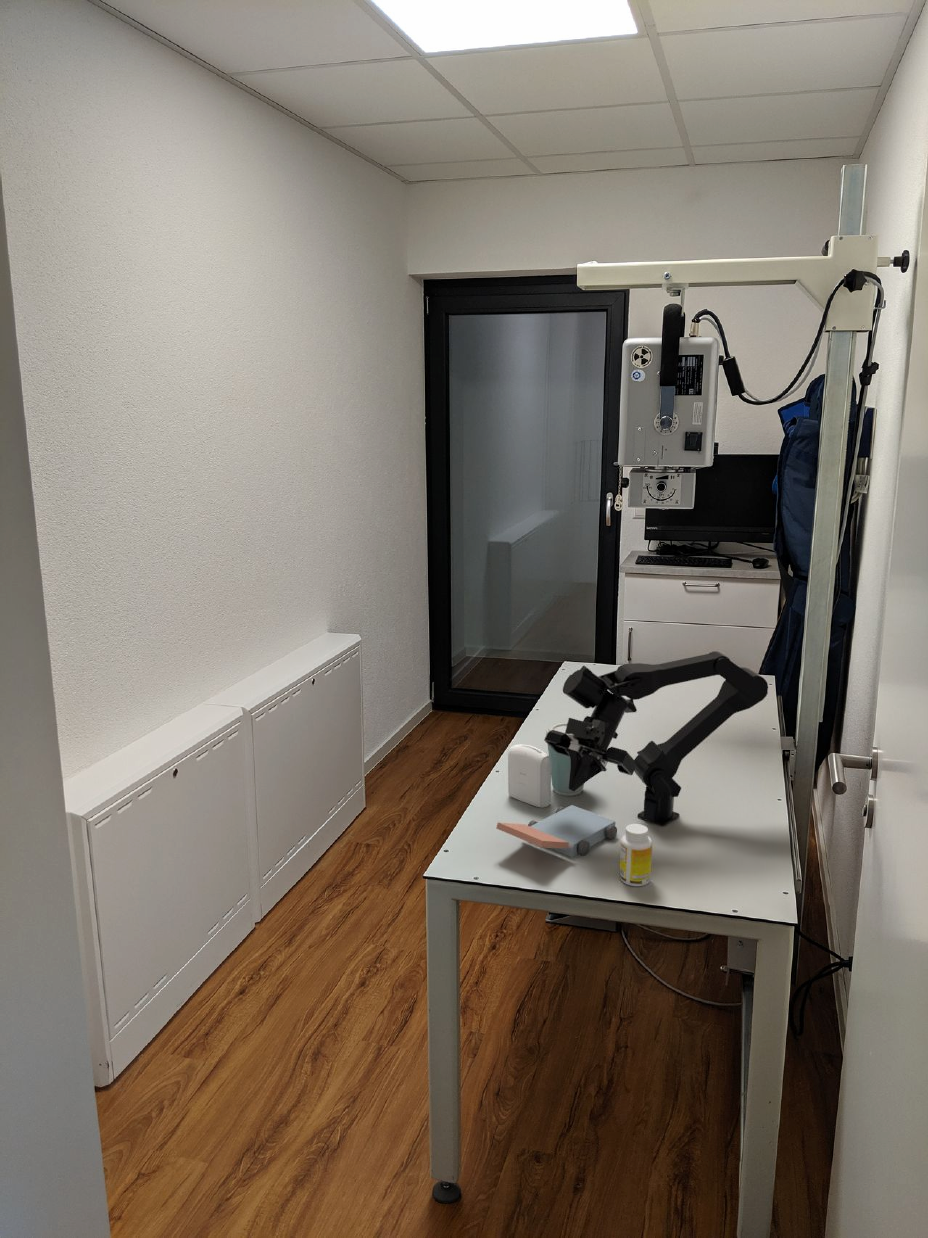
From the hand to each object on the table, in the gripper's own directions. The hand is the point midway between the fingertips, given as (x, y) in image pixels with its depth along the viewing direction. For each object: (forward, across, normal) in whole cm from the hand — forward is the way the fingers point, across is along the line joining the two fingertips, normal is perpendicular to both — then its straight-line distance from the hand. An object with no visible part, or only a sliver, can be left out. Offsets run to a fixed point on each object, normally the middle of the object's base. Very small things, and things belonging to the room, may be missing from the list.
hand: (571, 790), depth 185 cm
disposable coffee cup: (-6, -16, +22) cm, 28 cm away
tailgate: (+10, -2, +2) cm, 10 cm away
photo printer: (+1, -19, +15) cm, 24 cm away
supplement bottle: (+11, +17, +6) cm, 21 cm away
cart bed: (+6, -2, +10) cm, 12 cm away
